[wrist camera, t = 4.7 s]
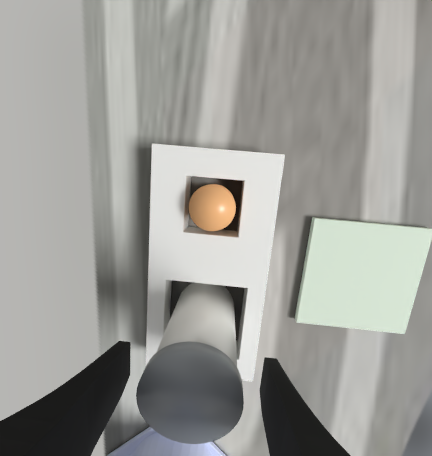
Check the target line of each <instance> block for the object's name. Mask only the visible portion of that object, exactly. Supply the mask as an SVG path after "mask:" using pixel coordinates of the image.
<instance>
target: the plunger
mask: <svg viewBox="0 0 432 456" xmlns="http://www.w3.org/2000/svg"><path fill="white" fill-rule="evenodd" d="M235 211H236V205H235V201H234V198H233V195H232V193H231V192H230V191H229V190H228V189H227V188H226V187H224V186H222V185H219V184H209V185H205V186H202V187H200V188H199V189H197V190H196V191H195V192H194V194H193V195H192V197H191V199H190V202H189V213H190V216H191V219H192V220H193V222H194V223H195V224H196V225H197V226H198V227H200V228H201V229H204V230H207V231H218V230H221V229H223V228H225V227H227V226H228V225H229V224H230V223H231V221H232V220H233V218H234V215H235Z"/></svg>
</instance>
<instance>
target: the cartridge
mask: <svg viewBox="0 0 432 456" xmlns="http://www.w3.org/2000/svg"><path fill="white" fill-rule="evenodd" d="M136 397H137V405H138V408H139V411H140V413H141V415H142V417H143V418H144V420H145V421H146V423H147V424H148V425H149V426H150V427H151V428H152V429H153V430H155V431H156V432H157V433H159V434H160V435H162V436H164V437H166V438H168V439H170V440H173V441H176V442H180V443H185V444H203V443H208V442H212V441H215V440H217V439H219V438H221V437H223V436H225V435H226V434H228V433H229V432H230V431H231V430H232V429H233V428H234V427H235V426H236V424H237V423H238V421H239V419H240V417H241V415H242V411H243V387H242V379H241V375H240V373H239V370H238V368H237V353H236V333H235V313H234V301H233V298H232V295H231V294H230V292H229V291H228V290H227V289H226V288H225V287H224V286H223V285H213V284H204V283H194V282H193V283H191V284H189V285H188V286H187V287H186V288H185V289H184V290H183V291H182V293H181V295H180V297H179V299H178V302H177V304H176V307H175V309H174V311H173V314H172V316H171V319H170V321H169V323H168V326H167V328H166V330H165V333H164V335H163V338H162V340H161V342H160V345H159V347H158V350H157V352H156V354H154V355H153V356H152V358H151V359H150V360H149V362H148V363H147V365H146V367H145V370H144V372H143V374H142V377H141V379H140V381H139V383H138V387H137V394H136Z"/></svg>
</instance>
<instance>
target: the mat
mask: <svg viewBox="0 0 432 456" xmlns="http://www.w3.org/2000/svg"><path fill="white" fill-rule="evenodd" d="M431 240H432V229H431V228H424V227H413V226H403V225H392V224H381V223H370V222H359V221H348V220H337V219H327V218H316V217H312V222H311V227H310V233H309V239H308V245H307V250H306V256H305V262H304V268H303V274H302V279H301V285H300V291H299V297H298V302H297V308H296V314H295V320H296V322H298V323H307V324H316V325H326V326H335V327H344V328H354V329H363V330H372V331H382V332H391V333H400V334H405V331H406V327H407V324H408V320H409V317H410V313H411V310H412V306H413V303H414V299H415V296H416V292H417V289H418V285H419V282H420V278H421V275H422V271H423V268H424V264H425V261H426V257H427V254H428V250H429V247H430V243H431Z"/></svg>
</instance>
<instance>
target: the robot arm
mask: <svg viewBox="0 0 432 456" xmlns="http://www.w3.org/2000/svg"><path fill="white" fill-rule="evenodd" d="M129 376H130V342H124V341H119V342H117V343H116V344H115V345H114V346H112V347H111V348H110V349H109V350H107V351H106V352H105V353H104V354H103V355H101V356H100V357H99V358H98V359H96V360H95V361H94V362H93V363H91V364H90V365H89V366H87V367H86V368H85V369H84V370H82V371H81V372H80V373H78V374H77V375H76V376H74V377H73V378H71V379H70V380H69V381H67V382H66V383H65V384H63V385H62V386H60V387H59V388H57V389H56V390H54V391H53V392H51V393H50V394H48V395H46V396H45V397H43V398H41V399H40V400H38V401H36V402H35V403H33V404H31V405H29V406H27V407H26V408H24V409H22V410H20V411H19V412H17V413H15V414H13V415H11V416H10V417H8V418H6V419H4V420H2V421H0V456H91V454H92V452H93V449H94V447H95V445H96V444H97V442H98V440H99V438H100V436H101V434H102V432H103V430H104V428H105V427H106V425H107V423H108V421H109V419H110V417H111V415H112V413H113V411H114V409H115V408H116V406H117V404H118V402H119V400H120V398H121V396H122V393H123V391H124V389H125V386H126V384H127V381H128V378H129ZM260 398H261V409H262V416H263V422H264V427H265V432H266V438H267V443H268V448H269V453H270V456H350V455H349V454H348V453H347V452H346V450H345V449H344V448H343V447H342V446H341V445H340V444H339V443H338V442H337V441H336V440H335V439H334V438H333V437H332V435H331V434H330V433H329V432H328V431H327V430H326V429H325V427H324V426H323V425H322V424H321V423H320V421H319V420H318V419H317V418H316V416H315V415H314V414H313V412H312V411H311V410H310V408H309V407H308V406H307V404H306V403H305V402H304V400H303V399H302V397H301V396H300V394H299V393H298V392H297V390H296V389H295V387H294V386H293V384H292V383H291V381H290V380H289V378H288V376H287V375H286V373H285V372H284V370H283V368H282V367H281V365H280V363H279V362H278V360H277V359H274V358H265V359H264V365H263V372H262V378H261V385H260ZM107 456H226V455H225V454H224V453H223V452H222V451H221V450H220V449H219V448H218V447H217V446H216V445H215V444H214V443H213V442H208V443H203V444H185V443H180V442H176V441H173V440H170V439H168V438H166V437H164V436H162V435H160V434H159V433H157V432H156V431H155V430H153V429H152V428H151V427H149V428H147V429H146V430H144V431H143V432H141V433H140V434H138V435H137V436H135V437H134V438H132V439H131V440H129V441H128V442H126V443H125V444H123V445H122V446H120V447H119V448H117V449H116V450H114V451H113V452H111V453H110V454H108V455H107Z"/></svg>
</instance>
